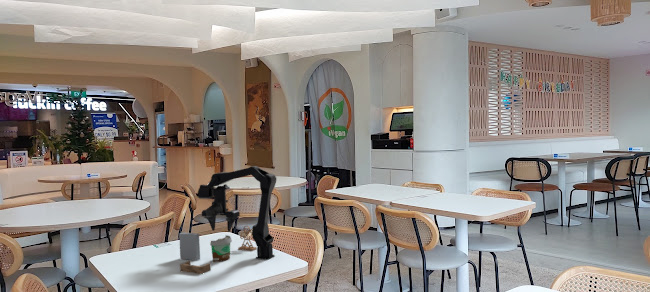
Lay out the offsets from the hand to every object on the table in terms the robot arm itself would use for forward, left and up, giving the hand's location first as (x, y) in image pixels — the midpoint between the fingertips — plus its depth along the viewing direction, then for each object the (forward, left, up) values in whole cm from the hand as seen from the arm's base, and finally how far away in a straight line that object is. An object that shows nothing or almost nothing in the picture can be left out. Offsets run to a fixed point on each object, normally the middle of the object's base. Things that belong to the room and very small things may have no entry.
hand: (221, 231), depth 221 cm
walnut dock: (-4, +24, -12) cm, 27 cm away
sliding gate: (+11, +10, -12) cm, 19 cm away
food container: (-5, +5, -12) cm, 14 cm away
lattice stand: (-5, -14, -12) cm, 19 cm away
